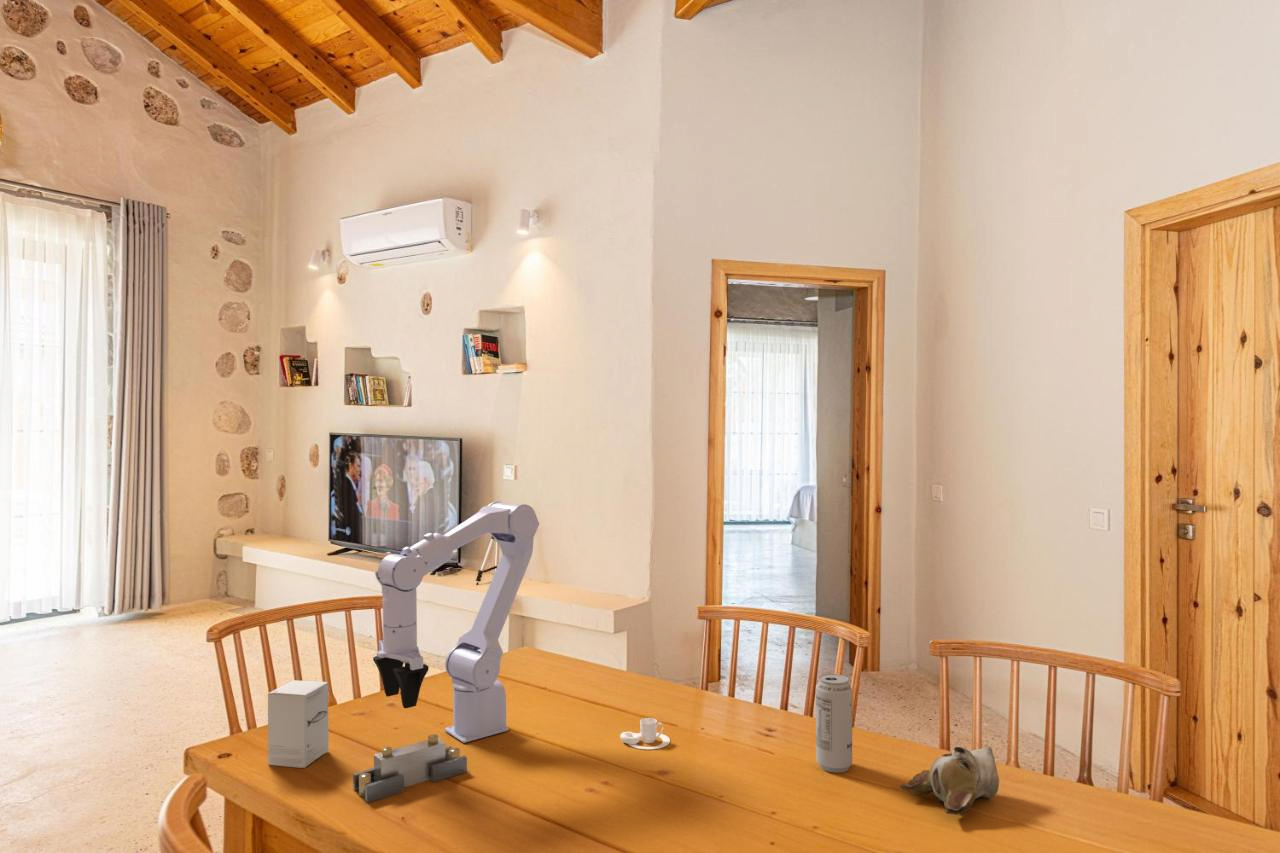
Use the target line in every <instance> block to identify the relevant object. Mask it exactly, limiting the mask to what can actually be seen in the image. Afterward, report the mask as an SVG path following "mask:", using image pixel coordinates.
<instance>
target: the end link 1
mask: <svg viewBox="0 0 1280 853" xmlns="http://www.w3.org/2000/svg"><path fill="white" fill-rule="evenodd" d="M352 780H353V781H352V786H353V788H352V789H353V791H354V792H356V791H358V796H359V797H361V798H364V800H365V802H366V803H367V804H369V803H372V802H375V801H377V800H381V799H384V798H387V797H390V796H394V795H397V794H401V793H403V792H405V787H404V775H402V774H401V775H398V776H394V777H391V778H387V779H384V780H381V781H377V782H374V767H372V768H368V769H365V770H362V771H358V772H355V773H352Z"/></svg>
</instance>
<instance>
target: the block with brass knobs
mask: <svg viewBox="0 0 1280 853" xmlns="http://www.w3.org/2000/svg"><path fill="white" fill-rule="evenodd" d="M445 748H446V742H445V741H444V740H442V739H441V738H440V737H439V735H437V734H429V735H428V736H427V740H422V741H418V742H415V743H412V744H408V745H404V746H401V747H396V748H392V747H391V746H384V747H382V748H381V749H380V752H378V753H374V754H373V768H374V782H377V781H381V780H384V779H387V778H391V777H394V776H398V775H401V774H402V775H404V788H406V787H407V788H408V787H410V786H414V785H417V784H420V783H423V782H426V781H430V780H431V766H432V765H435V764H438V763H442V762H445V761H446V760H445Z"/></svg>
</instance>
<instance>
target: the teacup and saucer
mask: <svg viewBox="0 0 1280 853" xmlns="http://www.w3.org/2000/svg"><path fill="white" fill-rule="evenodd" d="M659 725H660V726H661V730H660V732H657V730H658V726H659ZM639 727H640V732H633V731H623V732H621V734H620V736H619V738H620V740H621V742H623V743H625V744H627V745H629V746H630V747H632V748H633V749H638V750H647V751H648V750H650V751H651V750H657V749H658V750H659V749H662V748H664V747H667V746H668V745H669V744H670V743H671V738H670V737H669V736H667V735H666V734H663V730H664V724H663V723H662V722H658V720H657V719H656V718H653V717H645V718H641V719H640V720H639ZM658 738H660V739H661V740H662V742H661V743H660V744H658V745H656V746H643V745H638V743H640V742H641V740H642V742H643V743H645V744H653V743H654V742H656V740H657V739H658Z"/></svg>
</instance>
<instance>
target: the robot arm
mask: <svg viewBox="0 0 1280 853" xmlns="http://www.w3.org/2000/svg"><path fill="white" fill-rule="evenodd" d="M539 525H540V522H539V520H538V517H537V515H536V511H535V510H534V508H533V507H532V506H530V505H528V504H525V503H524V504H523V503H522V504H519V503H508V502H503V501H501V500H500V501H499V500H496V501H493V502H491V503H489V504H488V505H484V506H483V507H481V508H480V509H479V511H478V512H476V513H475V514H473V515H472V516H471V517H469V518H467V519H465V520H464V521H463V522H461V523H460V524H458V525H456V526H455V527H454V528H453V529H450V530H449V531H448V532H446V533H445V534H442V533H439V532H433V533H432V532H428V533H427V532H426V534H424V535H423V539H422V540H420V541H418V542H416V543H414V544H413V545H411V546H405V547H403V548H402V549H401V552H400V554H397V553H392V554H388V555H386V556H385V557H384V558H382V560H381V562H380V563H379V564H378V568H377V570H375V573H374V574H375V575H374V576H375V578H376V581H377V582H378V583H379V584H380V586H381V594H382V640H379V641H378V651H376V655H375V656H373V659H372V660H373V662H374V664H375V665H376V667H377V669H378V672H379V675H380V678H381V682H382V686H383V687H382V688H383V690H384V693H385V696H386V697H393V696H397V695H399V692H400V698H401V704H402V707H403V708H404V709H409V708H413V707H416V706H417V703H418V700H419V695H420V691H421V687H422V685H423V682H424V679H425V677H426V676H427V674H428V672H429V669H430V667H429V665H428V664H426V663H424V656H423V655H421V652H420V649H419V646H418V626H417V625H418V623H417V622H418V621H417V619H418V617H417V615H418V614H417V603H418V602H417V600H418V598H417V588H418V587H419V586H420V585H421V582H422V580H423V579H424V577H425V576H426V575H428V574H429V573H431V572H433V571H434V570H436V569H438V568H439V567H441V566H443V565H445V564H446V563H448V562H449V561H451V560H452V557H453V554H454V551H455V550H457V549H459V548H461V547H463V546H465V545H467V544H469V543H470V542H472V541H475V540H476V539H478V538H480V537H482V536H485V535H487V534H490V535H491V536H492V538H493V539H494V540H495V542H496V543H497V544H498V545H499V548H500V551H501V557H500V559H499V561H498V564H497V567H496V569H495V572H494V574H493V576H492V578H491V581H490V584H489V586H488V588H487V590H486V592H485V595H484V598H483V600H482V602H481V605H480V607H479V610H478V613H477V614H476V617H475V619H474V622H473V623H472V624H473V625H472V626H471V629H470V630H469V631H467V632H465V633H463V634H462V635H461V636H460V637H459V638H458V640H457V642H456V645H455V646H454V647H453V648H452V649H451V650H450V651H449V653H448V654H447V655H446V656H447V657H446V659H445V664H444V666H445V671H446V673H447V675H448V676H449V677H450V678H451V684H452V688H453V689H452V691H453V692H452V696H453V698H452V699H453V700H452V701H453V702H452V703H453V705H452V706H453V708H452V709H453V712H452V713H453V714H452V715H453V716H452V717H453V718H452V719H453V725H452V726H448V727H445V728H444V731H445V732H446V733H448V734H449V735H451V736H452V737H454V738H456V739H457V740H458V741H460V742H462V743H468V742H472V741H475V740H479V739H483V738H486V737H489V736H493V735H498V734H501V733H504V732H507V731H509V727H507V694H506V689H505V686H504V685H503V683H502V682H501V681H500V680H499V679H498V678H499V676H500V672H501V671H500V670H501V660H502V658H503V655H504V651H503V648H502V646H501V644H500V642H499V638H500V636H501V633H502V631H503V628H504V626H505V623H506V621H507V618H508V616H509V613H510V612H511V608H512V605H513V603H514V601H515V599H516V596H517V593H518V591H519V589H520V586H521V584H522V581H523V578H524V576H525V573H526V571H527V568H528V566H529V563H530V561H531V559H532V555H533V551H534V550H533V549H534V540H535V539H534V538H535V535H536V533H537V530H538V528H539Z"/></svg>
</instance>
